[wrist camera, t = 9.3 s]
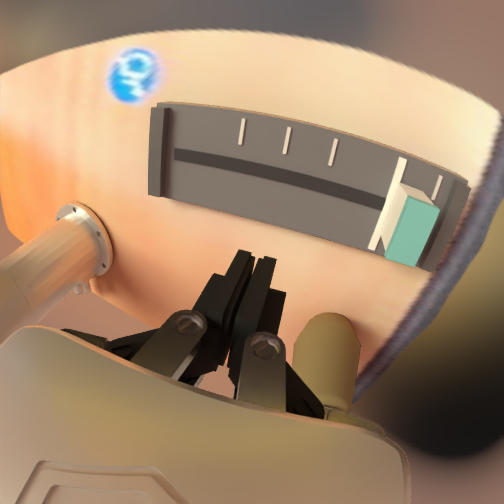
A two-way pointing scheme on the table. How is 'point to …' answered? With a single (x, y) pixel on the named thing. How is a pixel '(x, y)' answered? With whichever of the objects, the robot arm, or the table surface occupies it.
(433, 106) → the table surface
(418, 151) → the table surface
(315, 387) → the squeeze bottle
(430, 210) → the fader knob
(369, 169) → the console board
